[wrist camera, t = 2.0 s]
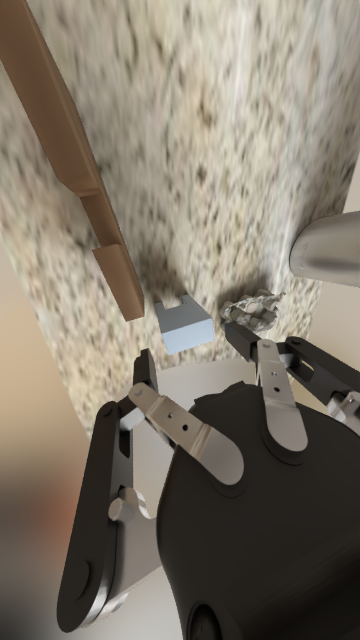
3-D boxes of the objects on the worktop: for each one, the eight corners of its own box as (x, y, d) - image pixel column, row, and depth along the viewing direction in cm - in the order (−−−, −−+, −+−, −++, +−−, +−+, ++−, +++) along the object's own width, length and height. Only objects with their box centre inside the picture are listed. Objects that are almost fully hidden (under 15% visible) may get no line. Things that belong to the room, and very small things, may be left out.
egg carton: (269, 284, 25) (289, 290, 22) (264, 318, 29) (281, 328, 25) (216, 300, 24) (229, 309, 21) (219, 334, 28) (230, 346, 24)
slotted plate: (74, 104, 12) (1, -51, 6) (144, 296, 21) (144, 316, 15) (50, 107, 12) (-52, -50, 6) (131, 300, 20) (125, 321, 14)
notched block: (188, 293, 22) (212, 317, 14) (191, 310, 24) (214, 339, 16) (154, 303, 21) (161, 333, 14) (160, 319, 23) (168, 355, 15)
